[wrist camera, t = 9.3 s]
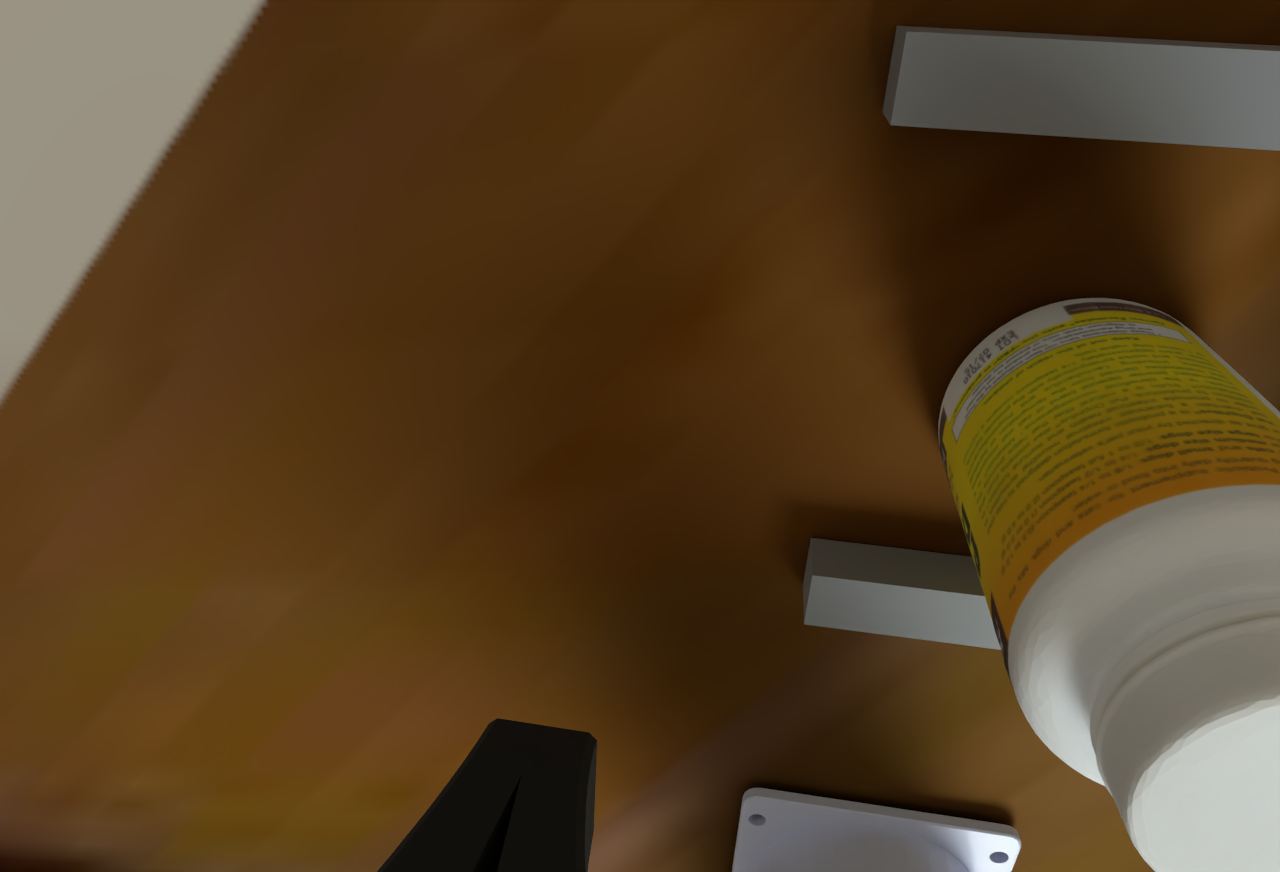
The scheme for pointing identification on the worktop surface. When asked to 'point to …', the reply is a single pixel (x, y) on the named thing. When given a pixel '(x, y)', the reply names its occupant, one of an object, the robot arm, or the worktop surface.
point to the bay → (1038, 105)
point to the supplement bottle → (1132, 566)
